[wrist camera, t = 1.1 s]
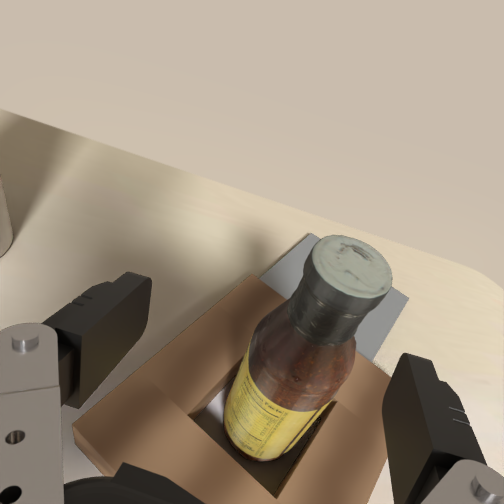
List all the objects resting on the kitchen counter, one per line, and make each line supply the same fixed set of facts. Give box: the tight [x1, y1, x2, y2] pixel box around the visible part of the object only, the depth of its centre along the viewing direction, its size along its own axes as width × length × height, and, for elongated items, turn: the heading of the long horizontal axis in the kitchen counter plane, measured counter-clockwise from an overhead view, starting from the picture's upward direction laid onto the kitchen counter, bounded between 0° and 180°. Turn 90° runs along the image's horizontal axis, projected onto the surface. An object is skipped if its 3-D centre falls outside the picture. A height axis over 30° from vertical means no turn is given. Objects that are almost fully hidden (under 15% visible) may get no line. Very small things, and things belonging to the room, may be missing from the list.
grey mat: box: [259, 233, 409, 362], centre depth 44 cm, size 14×12×1 cm
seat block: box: [72, 274, 391, 504], centre depth 31 cm, size 18×20×4 cm
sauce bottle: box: [224, 235, 392, 462], centre depth 25 cm, size 6×6×20 cm
